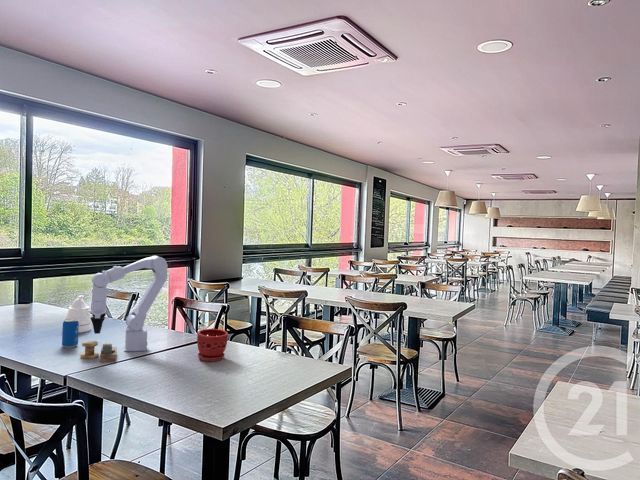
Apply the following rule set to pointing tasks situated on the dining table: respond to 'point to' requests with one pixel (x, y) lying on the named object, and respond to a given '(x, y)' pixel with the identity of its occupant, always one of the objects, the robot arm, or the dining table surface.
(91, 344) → the spool
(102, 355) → the block with rectangular opening
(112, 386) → the dining table surface
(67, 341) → the beverage can
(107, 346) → the grey rectangular block
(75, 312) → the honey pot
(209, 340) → the plant pot
